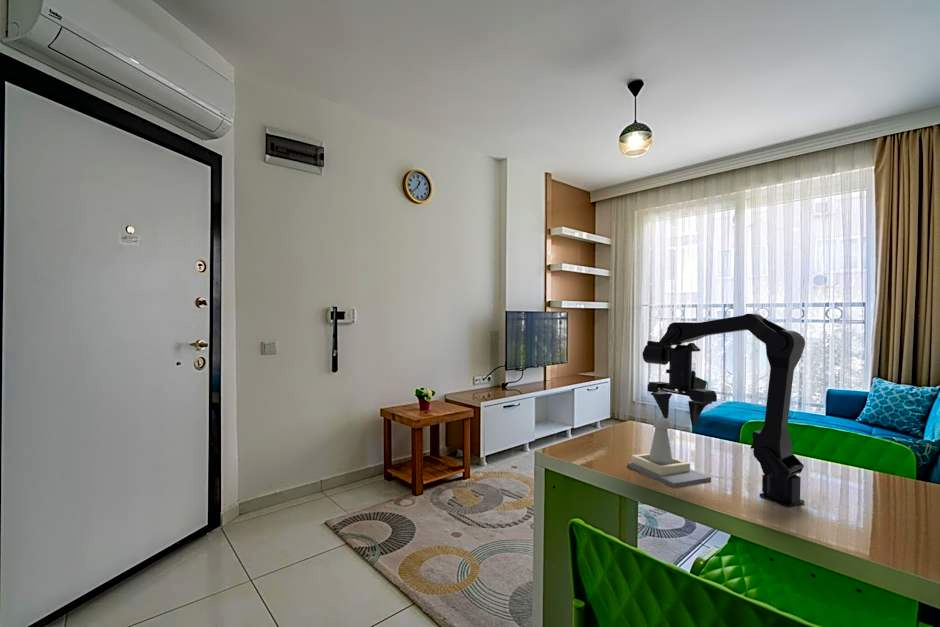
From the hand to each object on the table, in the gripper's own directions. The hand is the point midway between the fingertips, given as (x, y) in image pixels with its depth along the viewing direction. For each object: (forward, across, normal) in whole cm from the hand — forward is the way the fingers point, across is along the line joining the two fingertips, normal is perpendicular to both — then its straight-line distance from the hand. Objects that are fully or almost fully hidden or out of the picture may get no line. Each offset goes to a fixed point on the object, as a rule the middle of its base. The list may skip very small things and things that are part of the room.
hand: (679, 421), depth 121 cm
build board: (+13, -2, +7) cm, 15 cm away
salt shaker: (+12, 0, +7) cm, 14 cm away
